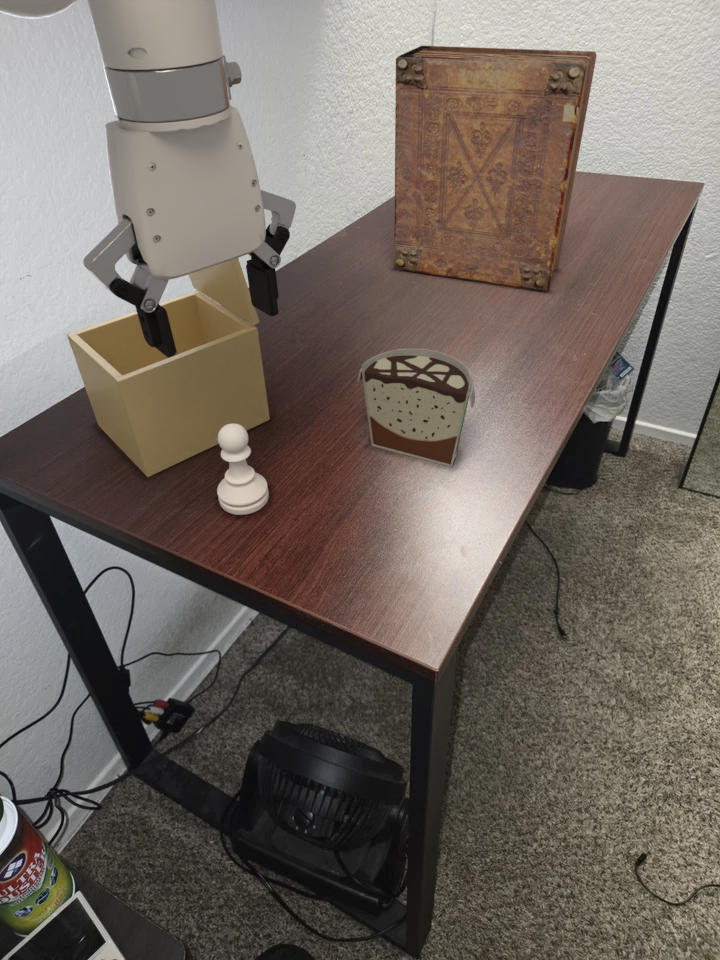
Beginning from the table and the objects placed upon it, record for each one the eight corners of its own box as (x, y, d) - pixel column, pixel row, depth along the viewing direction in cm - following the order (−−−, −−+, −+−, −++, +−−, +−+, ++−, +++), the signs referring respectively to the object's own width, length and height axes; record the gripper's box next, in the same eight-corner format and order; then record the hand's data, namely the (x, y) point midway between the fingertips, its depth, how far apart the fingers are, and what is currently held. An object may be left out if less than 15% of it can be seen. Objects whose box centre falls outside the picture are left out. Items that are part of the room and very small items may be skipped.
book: (559, 269, 107) (599, 51, 87) (548, 293, 100) (588, 63, 81) (412, 249, 115) (418, 45, 95) (393, 269, 108) (395, 55, 89)
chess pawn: (277, 504, 66) (267, 431, 60) (230, 522, 64) (215, 449, 58) (257, 476, 69) (245, 405, 63) (212, 493, 67) (195, 421, 61)
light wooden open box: (147, 477, 69) (118, 381, 62) (98, 425, 77) (66, 334, 69) (270, 419, 77) (257, 327, 69) (214, 377, 84) (197, 290, 76)
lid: (198, 167, 57) (243, 145, 58) (133, 141, 64) (174, 122, 66) (254, 325, 69) (289, 303, 70) (193, 288, 76) (227, 268, 78)
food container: (483, 438, 73) (492, 359, 66) (465, 471, 69) (474, 390, 62) (381, 413, 77) (381, 336, 71) (359, 442, 73) (356, 364, 66)
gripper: (249, 67, 49) (276, 283, 61) (18, 108, 41) (98, 350, 52) (310, 79, 45) (327, 310, 56) (64, 128, 37) (141, 387, 48)
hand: (216, 329), depth 54 cm, fingers open, 9 cm apart
